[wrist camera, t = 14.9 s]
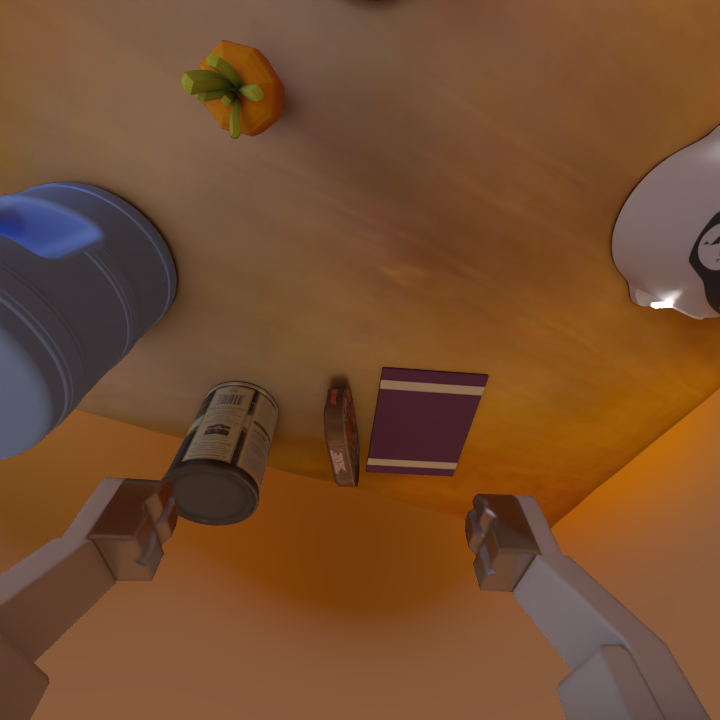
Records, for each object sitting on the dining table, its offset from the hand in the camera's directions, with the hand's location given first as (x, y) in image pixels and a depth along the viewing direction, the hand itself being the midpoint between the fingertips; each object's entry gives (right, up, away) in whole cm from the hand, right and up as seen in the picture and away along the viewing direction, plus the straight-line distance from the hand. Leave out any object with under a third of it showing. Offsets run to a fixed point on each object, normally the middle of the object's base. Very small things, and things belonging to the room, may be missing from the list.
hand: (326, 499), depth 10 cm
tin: (-1, -4, +42) cm, 42 cm away
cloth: (+10, -6, +43) cm, 45 cm away
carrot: (-7, +26, +22) cm, 35 cm away
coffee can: (-15, -3, +41) cm, 44 cm away
